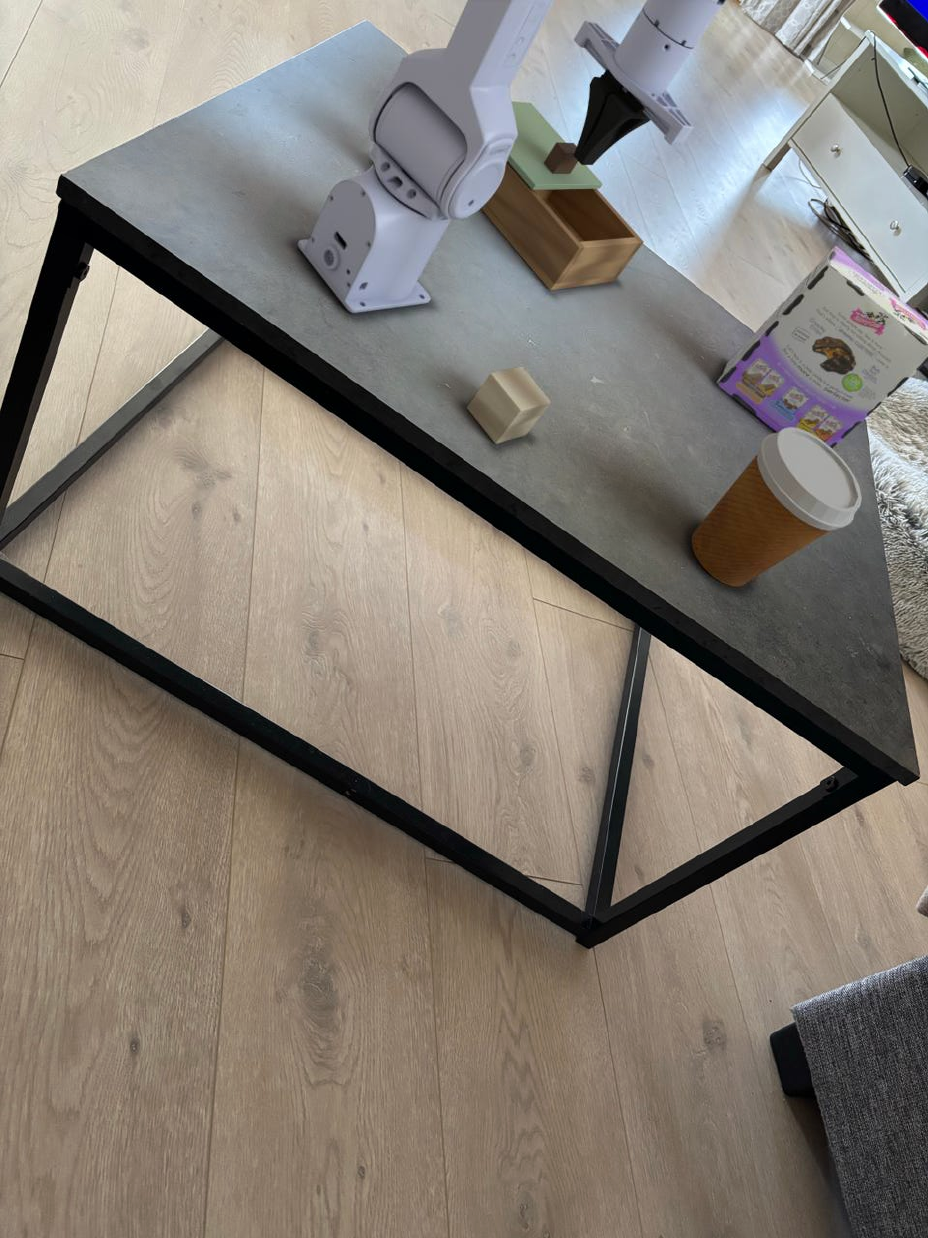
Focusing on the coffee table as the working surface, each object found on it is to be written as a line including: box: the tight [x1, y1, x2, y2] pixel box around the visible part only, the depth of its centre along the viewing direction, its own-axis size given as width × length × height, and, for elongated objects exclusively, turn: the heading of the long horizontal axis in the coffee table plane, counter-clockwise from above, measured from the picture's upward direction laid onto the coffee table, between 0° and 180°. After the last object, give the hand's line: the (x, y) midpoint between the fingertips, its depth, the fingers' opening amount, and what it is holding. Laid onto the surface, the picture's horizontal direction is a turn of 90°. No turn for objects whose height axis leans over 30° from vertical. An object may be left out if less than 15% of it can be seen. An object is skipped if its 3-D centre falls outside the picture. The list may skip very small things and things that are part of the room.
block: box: [466, 365, 552, 445], centre depth 78 cm, size 4×4×4 cm
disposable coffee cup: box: [691, 427, 863, 587], centre depth 80 cm, size 10×10×12 cm
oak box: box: [480, 161, 645, 291], centre depth 99 cm, size 12×13×5 cm
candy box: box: [716, 245, 928, 450], centre depth 99 cm, size 14×6×16 cm, turn 65°
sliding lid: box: [507, 100, 604, 190], centre depth 98 cm, size 12×13×3 cm
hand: (582, 160), depth 95 cm, fingers closed
